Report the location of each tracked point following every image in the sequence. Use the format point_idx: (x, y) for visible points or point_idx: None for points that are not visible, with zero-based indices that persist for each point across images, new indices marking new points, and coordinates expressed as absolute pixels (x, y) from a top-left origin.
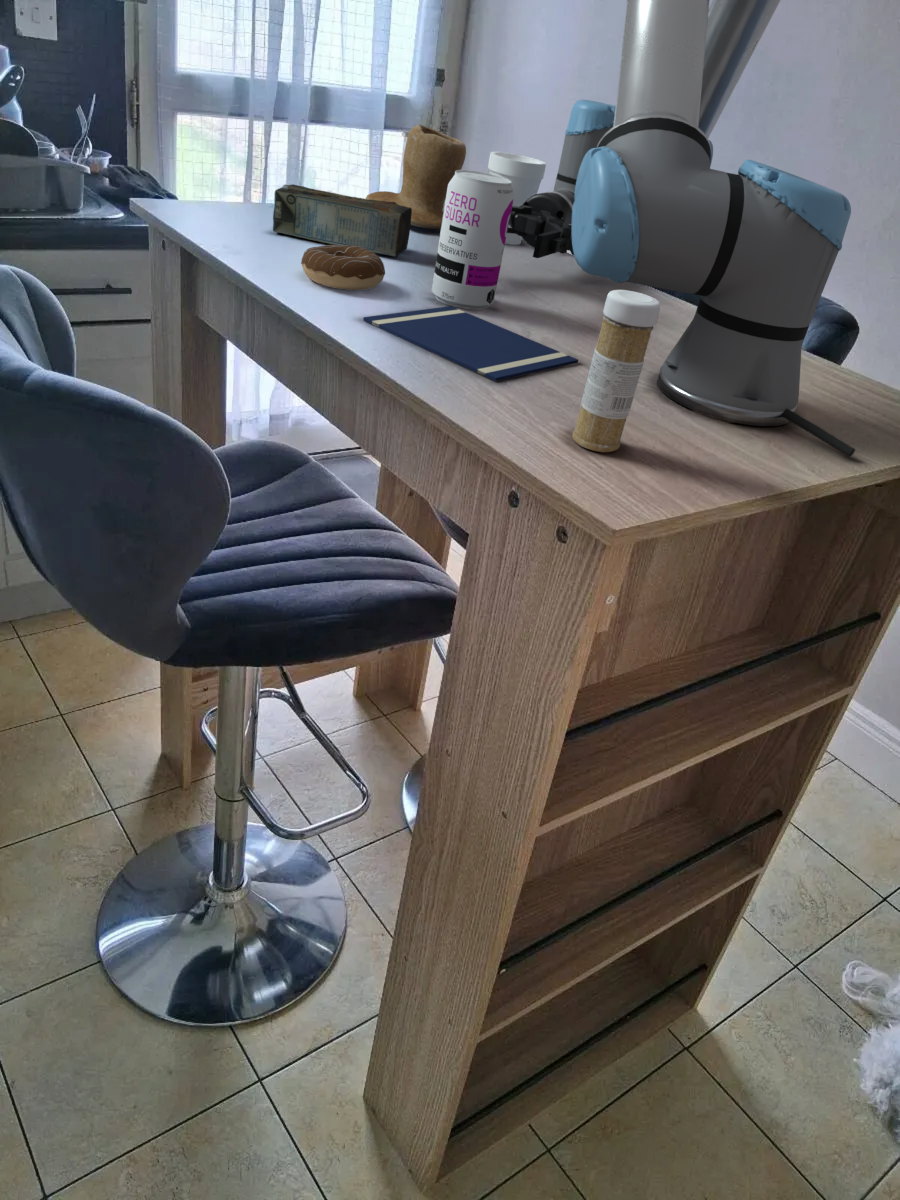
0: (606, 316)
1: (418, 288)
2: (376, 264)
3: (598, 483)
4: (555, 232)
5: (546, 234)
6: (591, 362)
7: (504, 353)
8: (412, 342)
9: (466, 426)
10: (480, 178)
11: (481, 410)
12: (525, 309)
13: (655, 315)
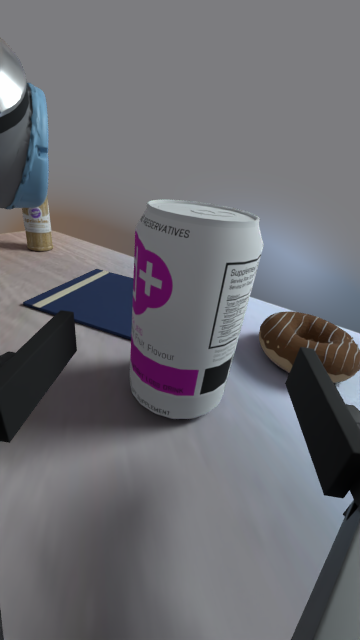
0: None
1: (248, 399)
2: (268, 326)
3: None
4: (8, 362)
5: (47, 326)
6: (48, 209)
7: (94, 290)
8: None
9: (104, 248)
10: (202, 209)
11: (99, 255)
12: (75, 426)
13: None
